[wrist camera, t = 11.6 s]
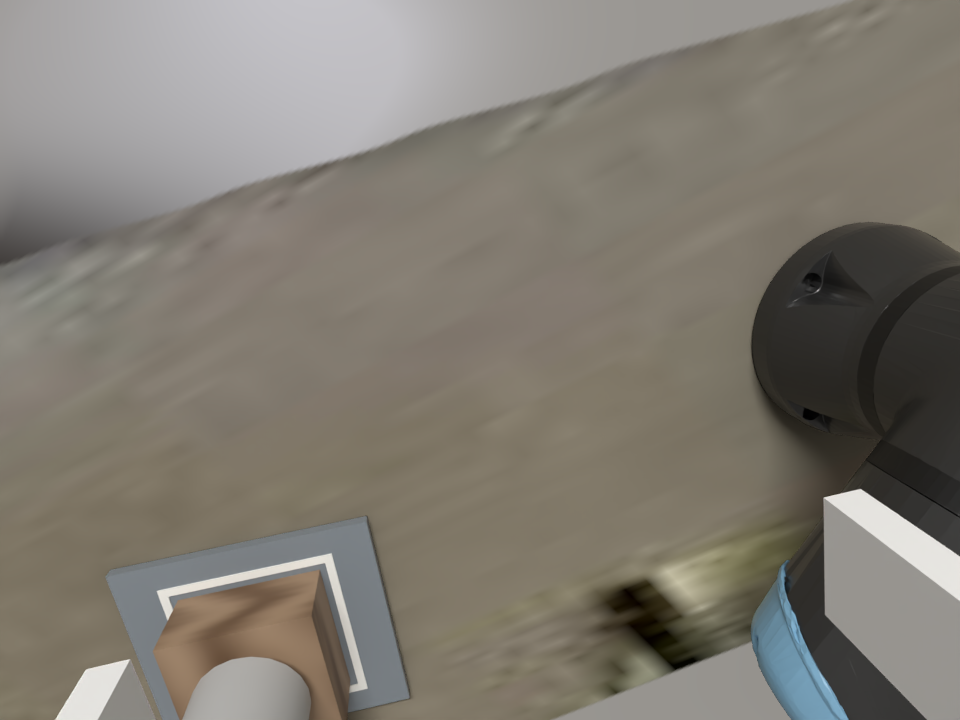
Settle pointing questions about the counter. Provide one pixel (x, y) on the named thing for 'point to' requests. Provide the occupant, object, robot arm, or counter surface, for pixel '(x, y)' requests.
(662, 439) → the counter surface
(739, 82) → the counter surface
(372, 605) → the grey flat plate
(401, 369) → the counter surface
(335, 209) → the counter surface
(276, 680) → the can
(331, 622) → the walnut block
